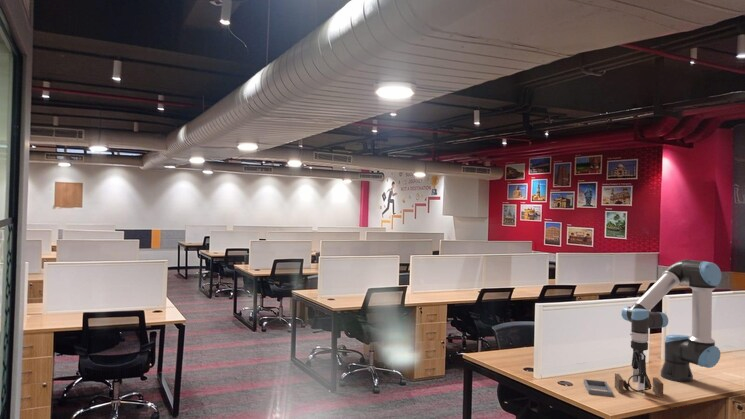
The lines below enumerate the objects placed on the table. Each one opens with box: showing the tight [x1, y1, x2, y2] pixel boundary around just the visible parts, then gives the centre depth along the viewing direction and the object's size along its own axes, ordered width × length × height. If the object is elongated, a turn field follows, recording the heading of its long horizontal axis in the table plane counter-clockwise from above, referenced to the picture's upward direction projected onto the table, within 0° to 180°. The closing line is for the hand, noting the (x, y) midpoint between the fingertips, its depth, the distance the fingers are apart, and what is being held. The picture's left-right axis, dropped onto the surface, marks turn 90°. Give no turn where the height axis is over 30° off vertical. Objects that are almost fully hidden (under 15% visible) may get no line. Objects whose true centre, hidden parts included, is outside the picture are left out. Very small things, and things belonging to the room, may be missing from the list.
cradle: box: [614, 373, 664, 399], centre depth 252 cm, size 19×10×7 cm, turn 75°
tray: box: [583, 378, 614, 397], centre depth 254 cm, size 11×17×2 cm, turn 165°
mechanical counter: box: [623, 373, 653, 392], centre depth 252 cm, size 7×13×10 cm, turn 78°
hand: (638, 385), depth 252 cm, fingers open, 11 cm apart
